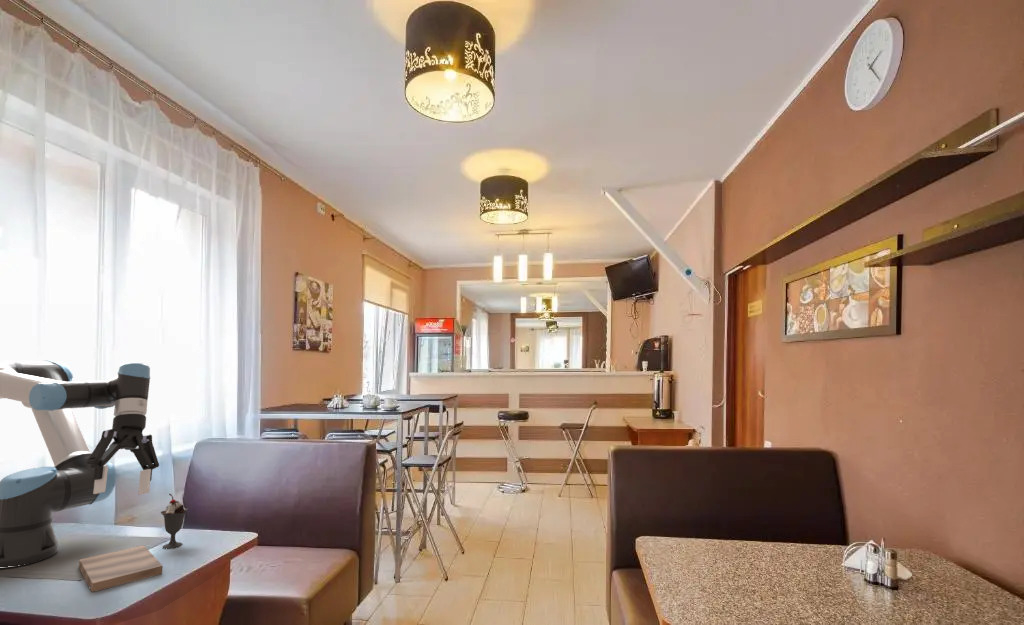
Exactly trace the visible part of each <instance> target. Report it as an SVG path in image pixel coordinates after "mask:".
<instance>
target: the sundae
mask: <svg viewBox="0 0 1024 625" xmlns="http://www.w3.org/2000/svg"><path fill="white" fill-rule="evenodd" d="M169 496H171V500H170V501H169V504H168V505H166V507H165V510H162V511H161V512H160V514H161V515H162V516H163V518H164V519H163V520H164V529H165V532H167V533H168V534H169V536H170V539H169V542H168V543H165V544H164V545H163V546H162V547H163V548H165V549H164V550H171V548H173V549H177V548H180V547H182V546H183V543H182V542H179V541H177V540H176V534H177V533H179V531H181V529H182V527H183V524H184V519H185V514H186V512H187V511H188V510H189V508H185V506H184V504H182V503H181V501H179V500H176V499H174V496H173V495H172V493H169ZM179 546H180V547H179ZM176 547H177V548H176ZM163 548H162V549H163ZM166 548H167V549H166Z"/></svg>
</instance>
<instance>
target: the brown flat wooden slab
mask: <svg viewBox="0 0 1024 625" xmlns="http://www.w3.org/2000/svg"><path fill="white" fill-rule="evenodd" d="M163 567H164V566H163V564H162V563H161V562H160V561H159V560H158V559H157V558H156V557H155V555H154V554H152V553H151V551H150V550H149V549H148V548H147V547H146V546H145V545H140V546H139V545H138V546H135V547H130V548H126V549H122V550H121V549H120V550H117V551H113V552H112V551H111V552H107V553H104V554H98V555H95V556H94V555H93V556H90V557H86V558H82V559H79V561H78V569H79V571H80V572H81V574H82V576H83V578H84V581H85V582H86V583H87V585H88V586H87V587H90V588H89V589H90V591H91V592H92V593H94V592H93V591H95V592H98V591H101V590H105V589H109V588H114V587H117V586H121V585H124V584H125V585H126V584H128V583H132V582H133V583H134V582H135V581H136V582H137V581H140V580H143V579H147V578H151V576H152V577H155V576H158V575H162V574H163Z"/></svg>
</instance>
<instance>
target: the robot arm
mask: <svg viewBox="0 0 1024 625" xmlns="http://www.w3.org/2000/svg"><path fill="white" fill-rule="evenodd" d="M150 375H151V367H150V366H149V365H148V364H147V363H140V362H126V363H123V364H121V365H120V366H119V369H118V372H117V376H115V377H113V378H111V379H108V380H86V381H85V380H83V381H82V380H81V381H74V380H73V378H74V376H73V371H72V370H71V368H70V367H69V366H68V365H67V364H66V363H64V362H62V361H54V360H53V361H52V360H42V361H41V360H39V361H36V360H34V361H31V360H29V361H28V360H27V361H25V360H24V361H23V360H21V361H20V360H17V361H16V360H3V361H0V399H7V400H13V401H15V402H16V401H18V402H21V404H22V405H23V407H26V408H29V409H31V411H32V413H33V416H34V419H35V421H36V424H37V426H38V428H39V431H40V433H41V436H42V438H43V440H44V443H45V445H46V448H47V450H48V452H49V455H50V458H51V460H52V462H53V464H54V466H40V467H33V468H27V469H23V470H20V471H16V472H13V473H10V474H9V475H6V476H4V477H3V478H2V479H1V480H0V567H8V566H18V565H23V566H25V565H24V564H27V565H30V564H29V563H31V564H33V562H35V563H38V562H41V561H44V560H46V559H48V558H51V557H53V556H54V555H56V554H57V553H58V548H59V543H58V542H59V541H58V539H57V537H56V533H55V531H54V528H53V525H52V524H53V515H54V513H56V512H61V511H66V510H69V509H70V510H71V509H74V508H78V507H83V506H86V505H89V506H90V505H93V504H95V503H99V502H102V501H104V500H106V499H107V498H108V497H110V495H111V494H112V493H113V491H114V488H115V485H116V481H117V470H116V467H115V465H114V464H113V463H112V462H110V460H111V459H112V458H113V457H114V456H115V455H116V454H117V452H118V451H119V450H126V451H130V453H133V455H134V456H135V458H136V460H137V462H138V463H139V465H140V467H141V469H142V470H140V472H139V480H138V481H139V482H138V493H137V494H138V495H139V496H140V495H144V494H149V493H150V489H151V488H150V487H151V484H150V483H151V481H152V478H153V476H152V475H153V470H154V469H157V468H159V467H160V462H159V459H158V457H157V453H156V449H155V447H154V443H153V435H152V434H147V435H146V434H145V435H144V434H143V431H144V429H146V424H147V416H146V415H147V411H148V409H147V408H148V398H149V390H150V382H151V380H150V379H151V376H150ZM84 408H96V409H100V410H103V409H108V408H114V409H113V410H114V411H113V416H114V417H113V419H112V428H111V429H106V430H103V431H102V433H101V438H100V440H99V441H98V443H97V444H96V446H95V448H94V449H93V451H92V452H91V451H90V450H89V447H88V444H87V442H86V440H85V438H84V434H82V431H81V428H80V427H79V424H78V422H77V420H76V418H75V415H74V413H73V410H72V409H84ZM111 442H112V443H111ZM43 559H44V560H43ZM40 560H41V561H40ZM37 561H38V562H37ZM18 567H19V566H18Z"/></svg>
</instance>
